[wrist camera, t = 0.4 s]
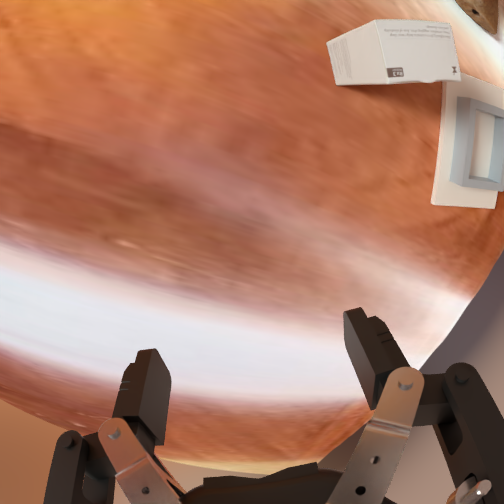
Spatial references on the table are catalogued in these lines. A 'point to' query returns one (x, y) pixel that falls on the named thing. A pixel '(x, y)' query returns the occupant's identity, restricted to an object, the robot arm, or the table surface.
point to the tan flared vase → (482, 12)
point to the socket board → (470, 144)
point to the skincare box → (395, 53)
